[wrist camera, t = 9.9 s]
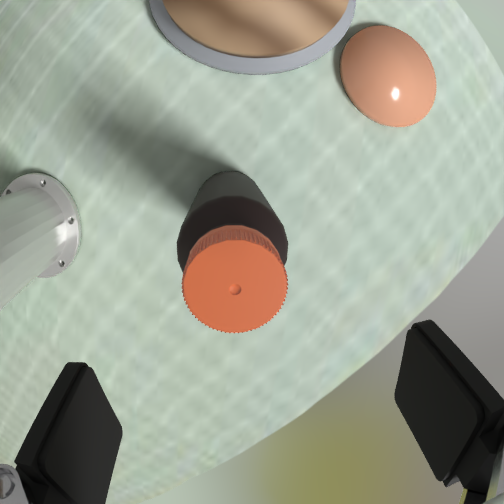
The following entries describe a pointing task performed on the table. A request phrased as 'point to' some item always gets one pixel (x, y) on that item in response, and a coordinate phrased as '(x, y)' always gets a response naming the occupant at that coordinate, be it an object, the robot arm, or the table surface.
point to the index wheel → (256, 24)
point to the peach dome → (388, 76)
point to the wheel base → (249, 64)
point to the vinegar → (232, 255)
